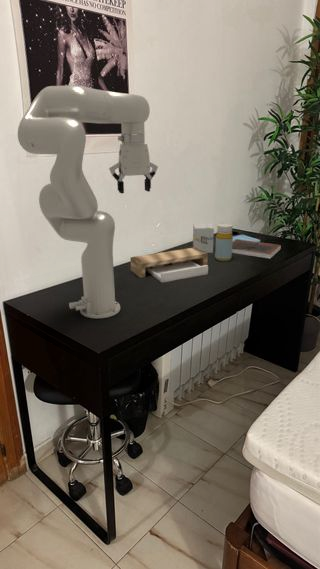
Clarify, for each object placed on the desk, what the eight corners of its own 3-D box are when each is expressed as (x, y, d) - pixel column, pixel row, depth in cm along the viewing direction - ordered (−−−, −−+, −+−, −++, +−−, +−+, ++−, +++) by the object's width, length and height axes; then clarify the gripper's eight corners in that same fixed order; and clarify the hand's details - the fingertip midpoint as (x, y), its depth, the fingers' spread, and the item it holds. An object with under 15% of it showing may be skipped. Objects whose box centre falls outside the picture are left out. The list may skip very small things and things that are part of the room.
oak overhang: (140, 277, 157) (140, 264, 155) (130, 270, 165) (130, 257, 163) (207, 266, 169) (207, 253, 167) (195, 259, 177) (195, 247, 175)
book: (223, 252, 188) (270, 259, 178) (223, 247, 187) (270, 254, 177) (236, 243, 201) (280, 249, 191) (236, 238, 200) (280, 244, 190)
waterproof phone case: (261, 242, 203) (261, 240, 202) (243, 246, 197) (243, 244, 196) (241, 236, 213) (242, 234, 213) (224, 240, 207) (224, 238, 207)
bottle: (229, 262, 173) (231, 227, 168) (213, 260, 175) (215, 226, 170) (232, 257, 179) (234, 223, 174) (216, 256, 182) (218, 222, 176)
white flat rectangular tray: (162, 282, 152) (161, 273, 151) (146, 271, 164) (146, 262, 163) (207, 274, 160) (208, 265, 159) (189, 263, 172) (190, 255, 171)
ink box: (192, 247, 193) (192, 223, 189) (210, 247, 194) (211, 222, 189) (194, 253, 185) (195, 227, 181) (213, 253, 186) (214, 227, 181)
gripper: (112, 140, 130) (114, 195, 136) (161, 139, 136) (161, 191, 143) (104, 139, 136) (107, 192, 142) (152, 138, 143) (152, 189, 149)
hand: (134, 192), depth 143 cm, fingers open, 9 cm apart
